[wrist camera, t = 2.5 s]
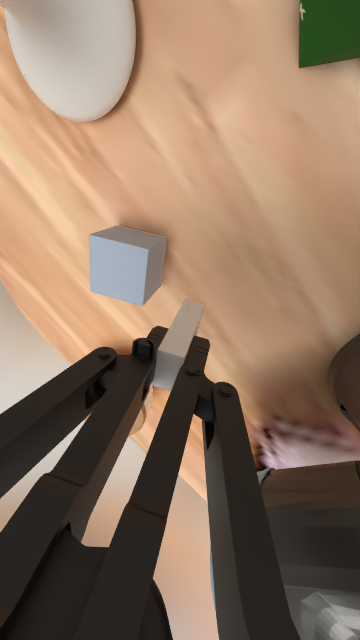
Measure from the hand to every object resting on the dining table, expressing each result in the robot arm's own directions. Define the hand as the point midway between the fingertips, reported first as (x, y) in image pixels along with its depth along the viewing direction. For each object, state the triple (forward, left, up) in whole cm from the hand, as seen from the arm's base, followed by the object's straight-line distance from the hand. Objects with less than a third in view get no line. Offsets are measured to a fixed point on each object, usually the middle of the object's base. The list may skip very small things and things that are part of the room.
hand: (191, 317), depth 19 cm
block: (+9, 0, -11) cm, 14 cm away
